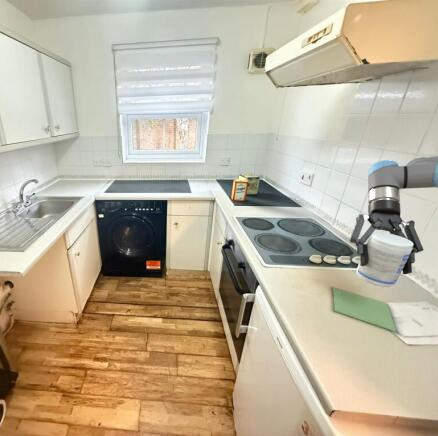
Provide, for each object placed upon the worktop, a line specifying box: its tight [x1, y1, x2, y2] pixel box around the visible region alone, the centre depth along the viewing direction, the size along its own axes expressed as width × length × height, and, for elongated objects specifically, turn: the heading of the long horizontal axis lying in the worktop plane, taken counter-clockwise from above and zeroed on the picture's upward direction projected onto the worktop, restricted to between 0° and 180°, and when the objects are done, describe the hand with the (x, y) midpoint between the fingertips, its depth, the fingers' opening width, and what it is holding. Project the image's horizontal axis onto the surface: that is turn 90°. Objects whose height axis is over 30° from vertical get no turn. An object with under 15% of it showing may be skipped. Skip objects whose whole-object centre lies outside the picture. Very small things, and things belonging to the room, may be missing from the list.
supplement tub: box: [355, 231, 414, 288], centre depth 74 cm, size 10×10×15 cm
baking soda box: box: [230, 178, 248, 202], centre depth 185 cm, size 10×6×16 cm
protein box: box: [238, 173, 261, 197], centre depth 202 cm, size 10×16×16 cm
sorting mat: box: [333, 287, 397, 333], centre depth 81 cm, size 15×14×1 cm
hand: (385, 269), depth 72 cm, fingers closed on supplement tub, 9 cm apart
